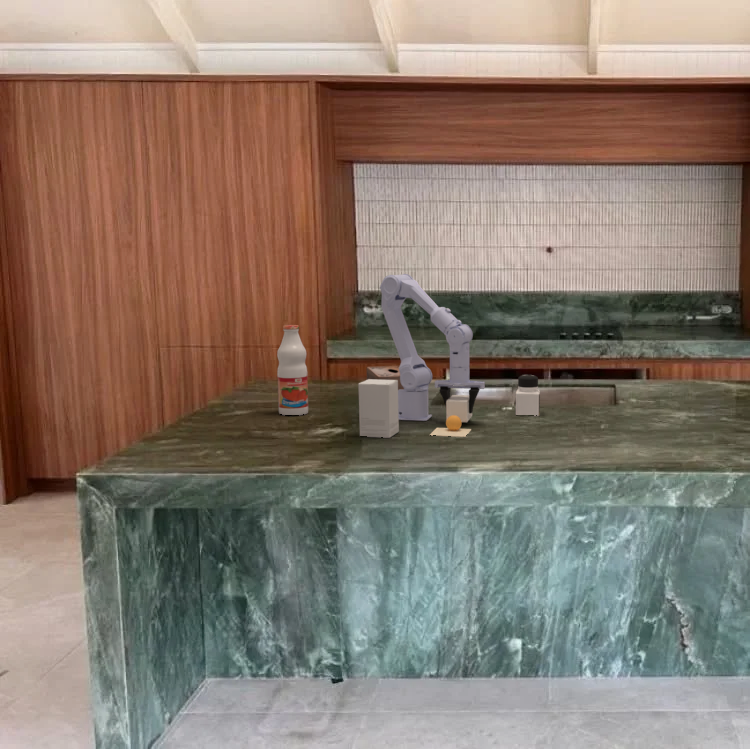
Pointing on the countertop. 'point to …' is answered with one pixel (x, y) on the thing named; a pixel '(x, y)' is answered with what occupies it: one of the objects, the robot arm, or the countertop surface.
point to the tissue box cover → (384, 373)
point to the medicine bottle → (528, 396)
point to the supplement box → (378, 408)
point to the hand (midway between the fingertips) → (459, 412)
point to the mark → (450, 432)
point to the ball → (453, 423)
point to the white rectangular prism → (458, 407)
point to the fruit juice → (292, 374)
